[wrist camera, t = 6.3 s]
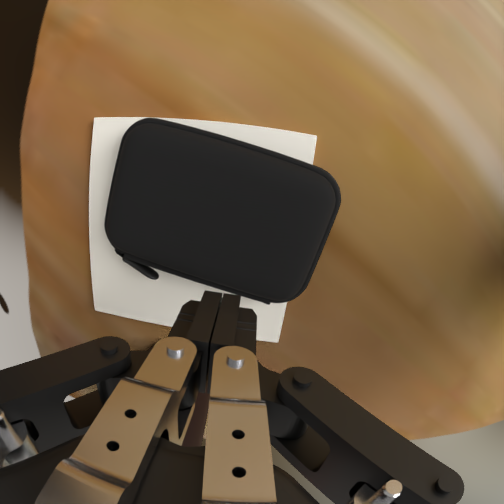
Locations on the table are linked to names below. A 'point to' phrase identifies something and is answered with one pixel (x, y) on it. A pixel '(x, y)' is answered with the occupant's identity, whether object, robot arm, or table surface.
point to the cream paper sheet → (167, 285)
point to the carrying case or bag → (218, 211)
